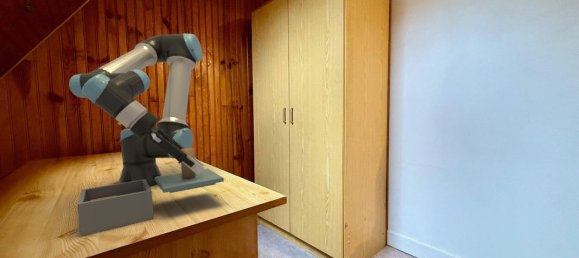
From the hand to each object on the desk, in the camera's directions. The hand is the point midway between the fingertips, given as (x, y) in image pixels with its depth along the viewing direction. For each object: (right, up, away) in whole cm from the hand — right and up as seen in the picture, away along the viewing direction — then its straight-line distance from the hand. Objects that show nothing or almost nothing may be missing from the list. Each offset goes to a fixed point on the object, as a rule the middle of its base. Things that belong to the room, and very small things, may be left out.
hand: (201, 169), depth 83 cm
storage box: (-20, -12, -9) cm, 25 cm away
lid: (-4, -3, -1) cm, 5 cm away
